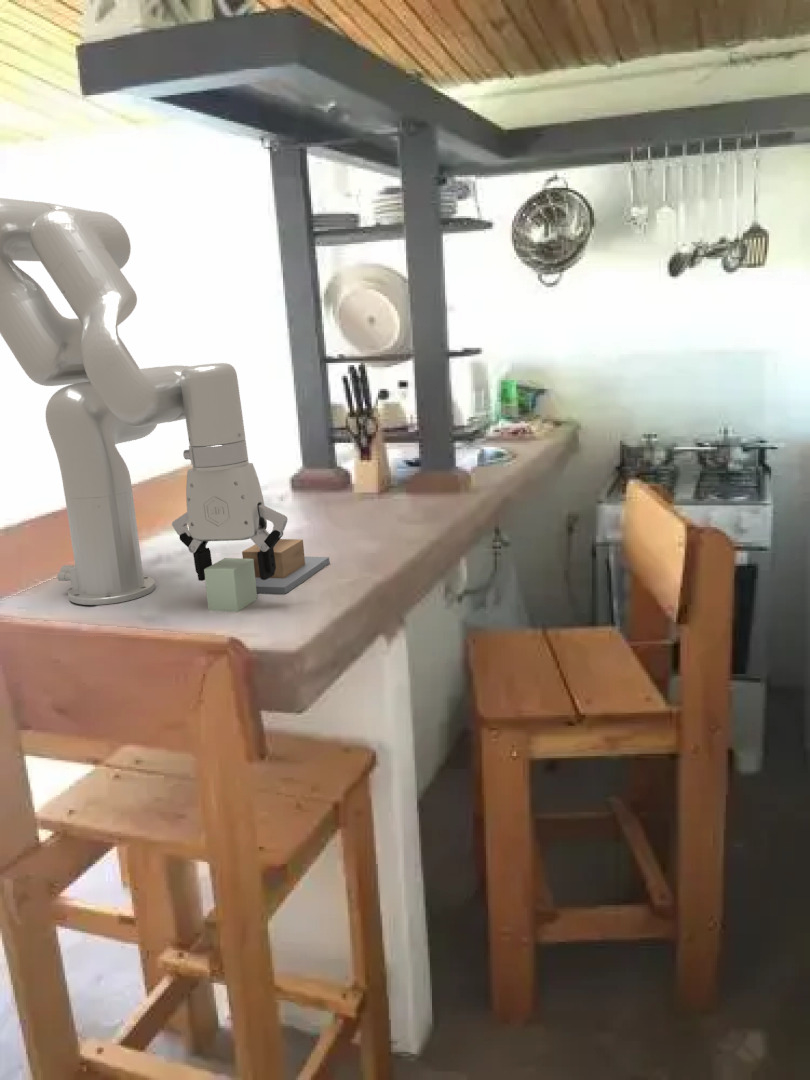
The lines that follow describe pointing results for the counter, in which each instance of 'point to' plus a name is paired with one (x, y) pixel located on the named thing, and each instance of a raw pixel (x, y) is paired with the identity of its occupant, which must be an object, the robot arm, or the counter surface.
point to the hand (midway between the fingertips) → (236, 577)
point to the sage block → (230, 584)
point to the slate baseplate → (291, 577)
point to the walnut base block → (280, 557)
